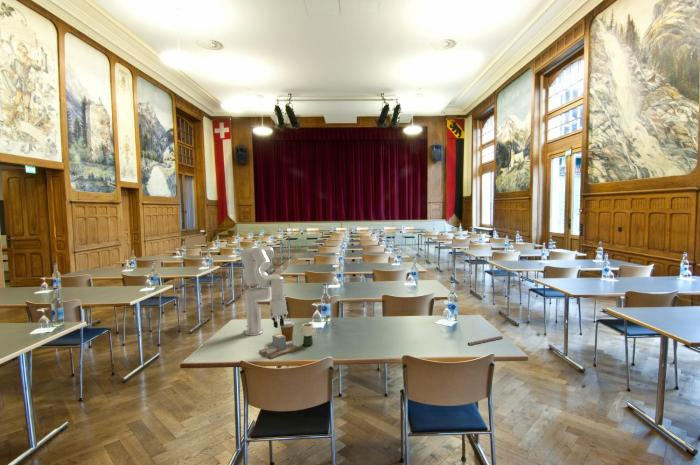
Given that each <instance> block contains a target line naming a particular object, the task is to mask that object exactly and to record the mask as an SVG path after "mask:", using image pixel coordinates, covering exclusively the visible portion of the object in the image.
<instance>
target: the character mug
mask: <svg viewBox="0 0 700 465" xmlns="http://www.w3.org/2000/svg"><path fill="white" fill-rule="evenodd" d="M298 330H299V333H301V335H302V336H303V341H302V342H303V343H302V344H303V345H304V346H306V347H307V346H312V345H313V344H314V341H313V335H314V334H315V333H317V328H316V327H314V324H313V323H310V322H305V323H303V324H301V326H300V327H299V328H298Z"/></svg>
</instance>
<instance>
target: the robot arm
mask: <svg viewBox="0 0 700 465" xmlns="http://www.w3.org/2000/svg"><path fill="white" fill-rule="evenodd" d="M273 258H275V251H274V249H273V247H272V246H269V245H267V246H256V247H249V248H244V249H242V251H241V254H240V259H241V261H242V264H243V267H244V277H245V284H246V286H247V287H250V288H248V289H246V290H245V291H244V299H245V305H246V326H245V327H246V328H247V329H246V330H245V331H244V335H246V336H258V335H261V334H263V333H264V332H265V330H264V329H263V328H262V311H261V305H260V304H259V303H258V302H260V301H266V300H268V299H269V298H270V297H271V299H270V301H269V309H268V310H269V311H268V314H269V315H268V319H270V320H272V321H273V327H274V328H276V329H277V328H278V327H279V326H280V325H281V326H284V321H285V320H286V319H285V318H286V316H288V314H289V311H288V307H287V302H286V301H287V300H286V298H285V296H286V293H285V282H284V281H285V280H284V279H285V278H284V277H283V276H281V275H279V274H277V273H276V274H268V273H267V272H266V270H268V269H270V267H271V263H272V262H271V261H270V259H273ZM257 286H259V287H257ZM251 287H252V288H251ZM270 289H271V290H270ZM278 317H280V319H279V323H278ZM278 324H279V326H278ZM281 326H280V327H281Z"/></svg>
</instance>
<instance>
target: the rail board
mask: <svg viewBox="0 0 700 465" xmlns="http://www.w3.org/2000/svg"><path fill="white" fill-rule="evenodd" d="M298 350H300V346H298V345H295V344H294V341H292V340H291V341H286V349H284V350H281V351H278V347H275V346H273V345H272V346H268V347H265V348H263V349H259V350H258V352H259V354H262V355H263V356H265V357H267V358H270V359H271V360H272V359H276V358H278V357H280V356H284V355H287V354H290V353H293V352H296V351H298Z"/></svg>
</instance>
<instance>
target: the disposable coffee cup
mask: <svg viewBox="0 0 700 465" xmlns="http://www.w3.org/2000/svg"><path fill="white" fill-rule="evenodd" d="M294 325H295V322H294V320H291V319H284V326H281V325H280V324H279V326H280V331H281V335H284V336H286V342H289V341H291V342H292V340H293V336H294Z"/></svg>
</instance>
